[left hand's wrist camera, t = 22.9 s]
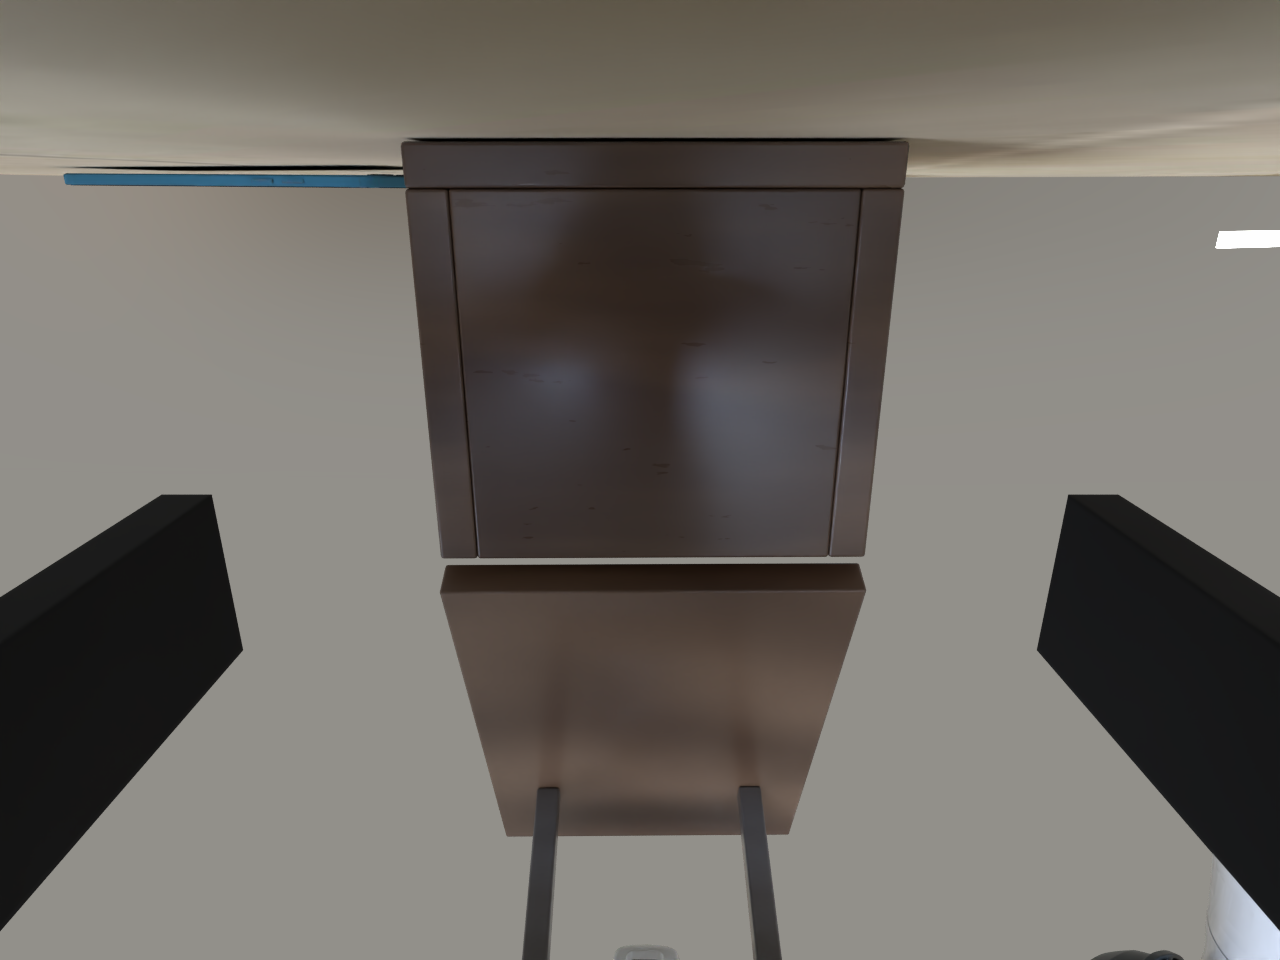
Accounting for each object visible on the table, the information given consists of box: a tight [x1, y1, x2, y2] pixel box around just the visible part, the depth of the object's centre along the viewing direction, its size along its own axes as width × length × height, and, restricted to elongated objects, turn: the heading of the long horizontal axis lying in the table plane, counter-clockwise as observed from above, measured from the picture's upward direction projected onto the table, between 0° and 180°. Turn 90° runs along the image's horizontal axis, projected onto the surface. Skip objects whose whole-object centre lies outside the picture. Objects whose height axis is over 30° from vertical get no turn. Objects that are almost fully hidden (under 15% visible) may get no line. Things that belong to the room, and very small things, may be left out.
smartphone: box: [64, 173, 406, 188], centre depth 36 cm, size 8×1×15 cm
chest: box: [401, 141, 909, 558], centre depth 23 cm, size 13×10×9 cm
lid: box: [440, 563, 866, 960], centre depth 21 cm, size 14×10×8 cm
